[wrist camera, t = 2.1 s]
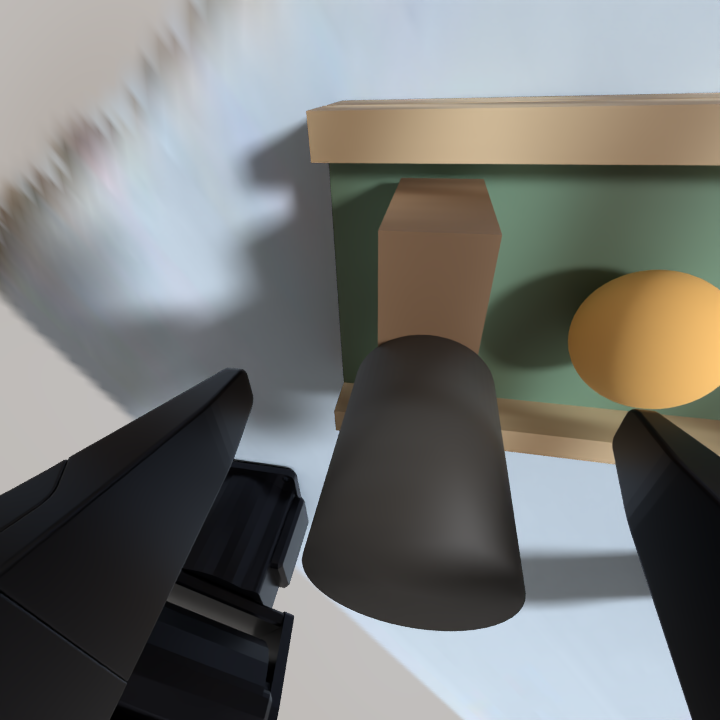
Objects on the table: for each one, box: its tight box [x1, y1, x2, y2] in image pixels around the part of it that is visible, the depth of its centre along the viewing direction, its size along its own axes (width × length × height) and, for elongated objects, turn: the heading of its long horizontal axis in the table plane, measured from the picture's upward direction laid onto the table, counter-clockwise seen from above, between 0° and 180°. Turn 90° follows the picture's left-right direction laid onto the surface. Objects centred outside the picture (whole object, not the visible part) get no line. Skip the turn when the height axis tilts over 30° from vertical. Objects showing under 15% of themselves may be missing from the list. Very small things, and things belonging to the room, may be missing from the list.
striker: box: [302, 178, 526, 631], centre depth 8 cm, size 3×7×8 cm, turn 1°
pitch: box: [306, 93, 720, 464], centre depth 12 cm, size 13×10×4 cm
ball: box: [568, 270, 720, 409], centre depth 10 cm, size 4×4×4 cm
